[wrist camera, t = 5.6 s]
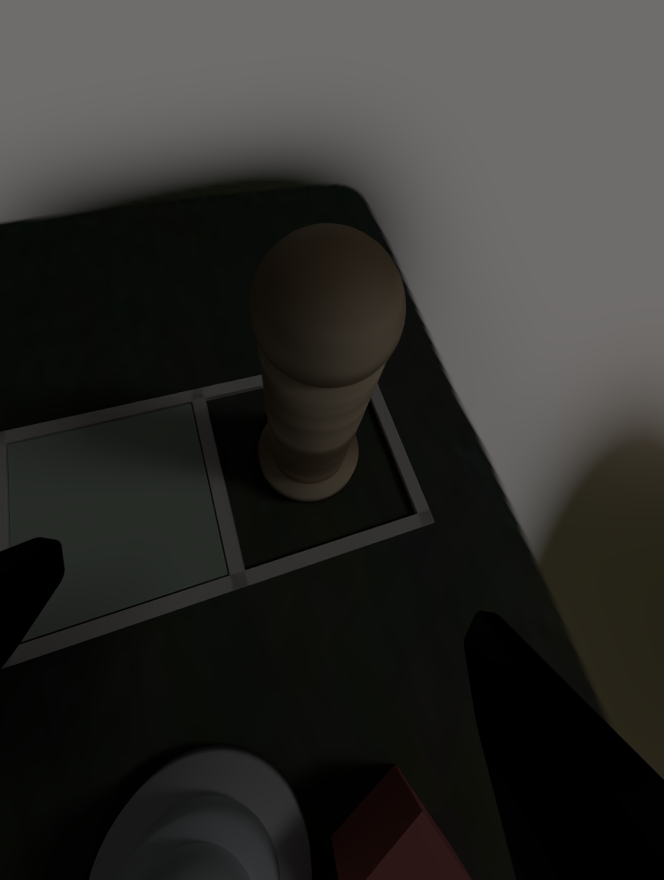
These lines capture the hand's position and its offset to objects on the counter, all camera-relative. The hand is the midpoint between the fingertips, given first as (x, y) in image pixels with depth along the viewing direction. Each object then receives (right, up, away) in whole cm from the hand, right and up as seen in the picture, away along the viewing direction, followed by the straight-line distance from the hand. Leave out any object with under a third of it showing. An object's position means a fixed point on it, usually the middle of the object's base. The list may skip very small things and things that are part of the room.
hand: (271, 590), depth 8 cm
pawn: (0, +2, +15) cm, 16 cm away
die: (+4, -15, +9) cm, 18 cm away
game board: (-6, +1, +14) cm, 15 cm away
